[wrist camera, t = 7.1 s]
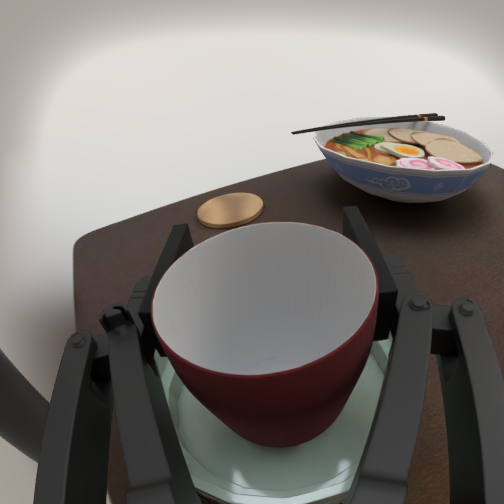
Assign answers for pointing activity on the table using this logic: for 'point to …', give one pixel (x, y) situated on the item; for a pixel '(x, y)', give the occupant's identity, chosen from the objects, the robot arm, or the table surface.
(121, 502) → the table surface
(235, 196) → the coaster
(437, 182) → the ramen bowl
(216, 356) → the mug
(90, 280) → the table surface
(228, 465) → the serving bowl
